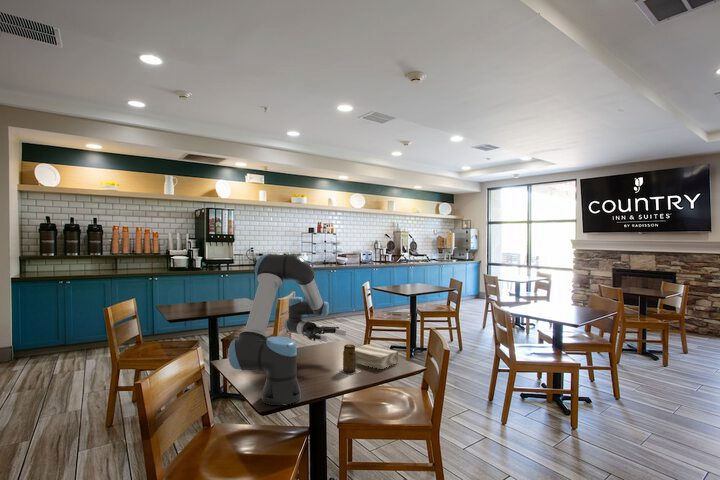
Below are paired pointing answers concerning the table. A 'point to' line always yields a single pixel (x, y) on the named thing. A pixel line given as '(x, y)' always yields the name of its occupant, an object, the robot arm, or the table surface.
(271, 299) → the robot arm
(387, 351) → the block
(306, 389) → the table surface
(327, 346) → the table surface
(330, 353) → the table surface
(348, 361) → the condiment
